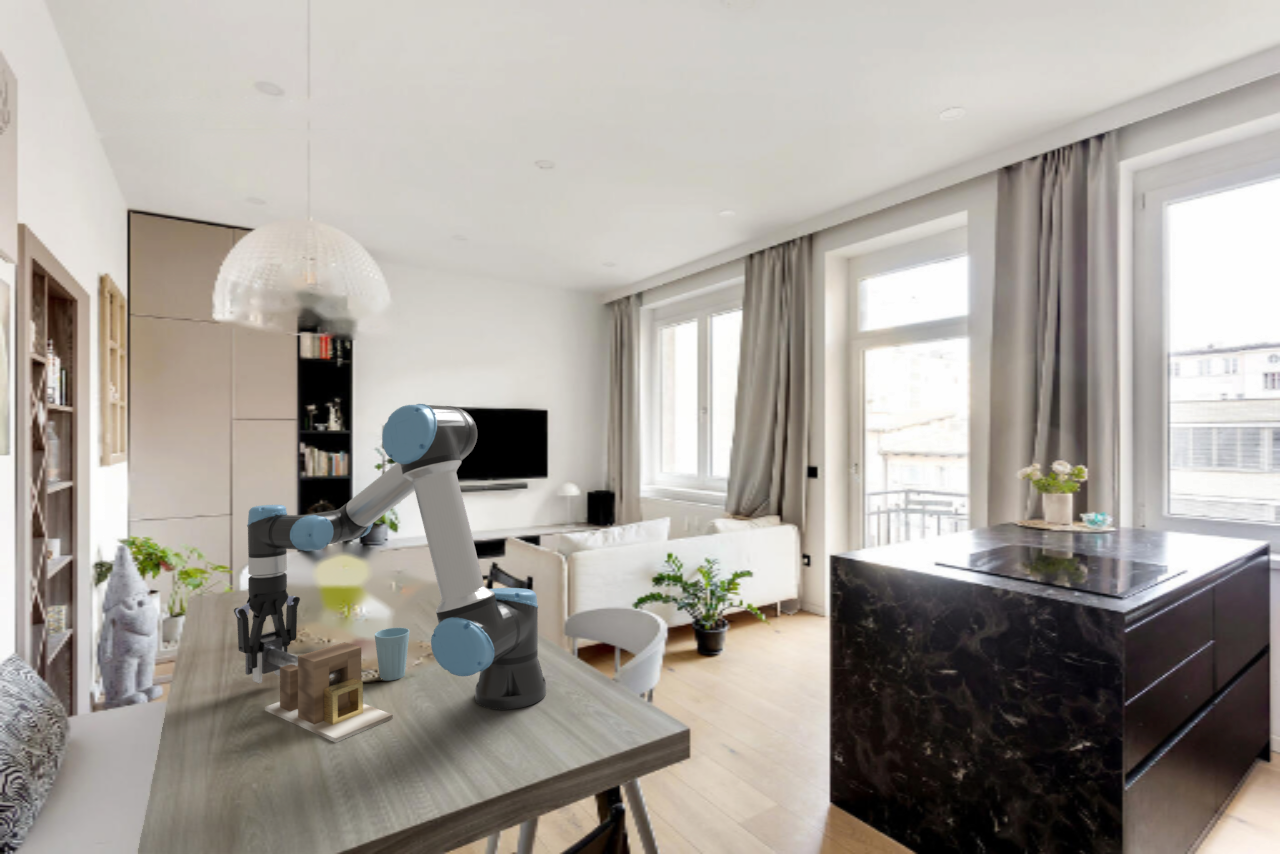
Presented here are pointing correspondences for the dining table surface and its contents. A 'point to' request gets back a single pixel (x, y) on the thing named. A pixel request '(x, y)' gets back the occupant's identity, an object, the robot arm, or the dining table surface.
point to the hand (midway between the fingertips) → (268, 677)
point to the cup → (392, 652)
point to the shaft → (279, 657)
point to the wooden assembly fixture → (307, 692)
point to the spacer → (331, 701)
